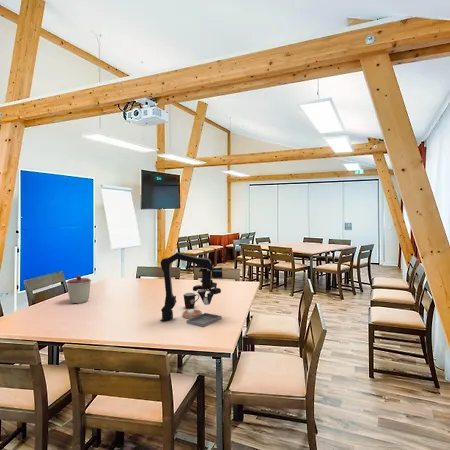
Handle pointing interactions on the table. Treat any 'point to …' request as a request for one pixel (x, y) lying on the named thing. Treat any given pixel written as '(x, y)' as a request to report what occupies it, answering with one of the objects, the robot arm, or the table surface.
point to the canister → (78, 289)
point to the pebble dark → (206, 301)
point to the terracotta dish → (196, 313)
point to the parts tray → (204, 319)
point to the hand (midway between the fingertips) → (206, 303)
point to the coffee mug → (189, 300)
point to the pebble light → (191, 312)
